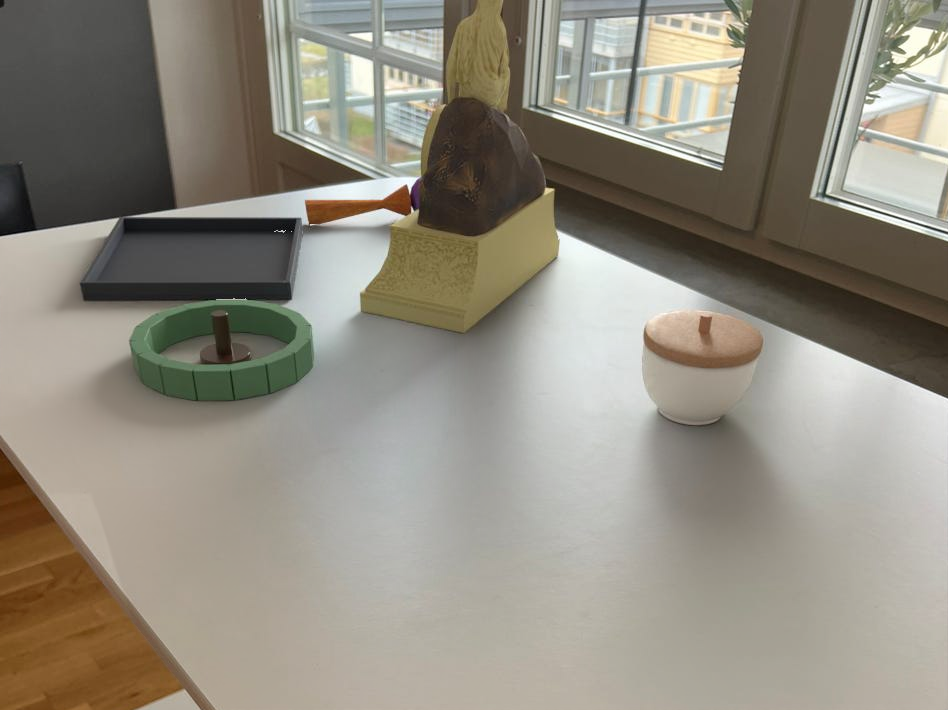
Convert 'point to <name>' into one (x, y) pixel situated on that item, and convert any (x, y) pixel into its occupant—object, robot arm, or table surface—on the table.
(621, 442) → the table surface
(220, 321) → the peg stand
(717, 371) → the trinket box
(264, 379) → the ring
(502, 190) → the statue on pedestal
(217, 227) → the tray
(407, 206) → the kendama
